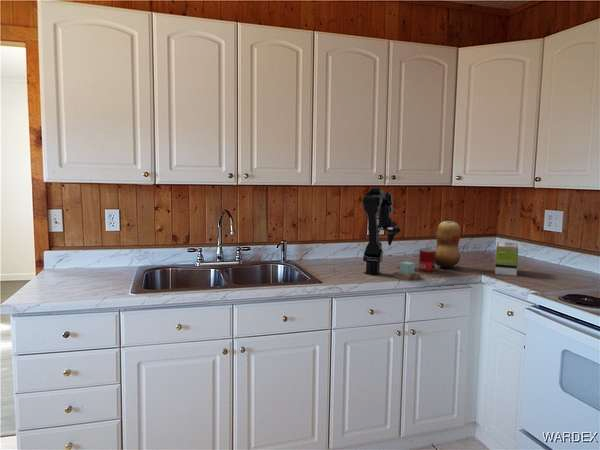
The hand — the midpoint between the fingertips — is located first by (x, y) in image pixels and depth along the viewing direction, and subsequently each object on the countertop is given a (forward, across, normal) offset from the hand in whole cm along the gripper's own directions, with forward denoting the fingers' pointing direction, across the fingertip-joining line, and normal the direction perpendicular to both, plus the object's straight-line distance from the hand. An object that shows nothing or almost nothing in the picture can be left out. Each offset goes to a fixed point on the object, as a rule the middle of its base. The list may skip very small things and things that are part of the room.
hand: (383, 244), depth 224 cm
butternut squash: (+12, -22, -26) cm, 36 cm away
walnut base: (+12, -25, +10) cm, 29 cm away
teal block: (+10, -25, +10) cm, 29 cm away
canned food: (+12, -20, -12) cm, 26 cm away
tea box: (+12, -46, -42) cm, 63 cm away
